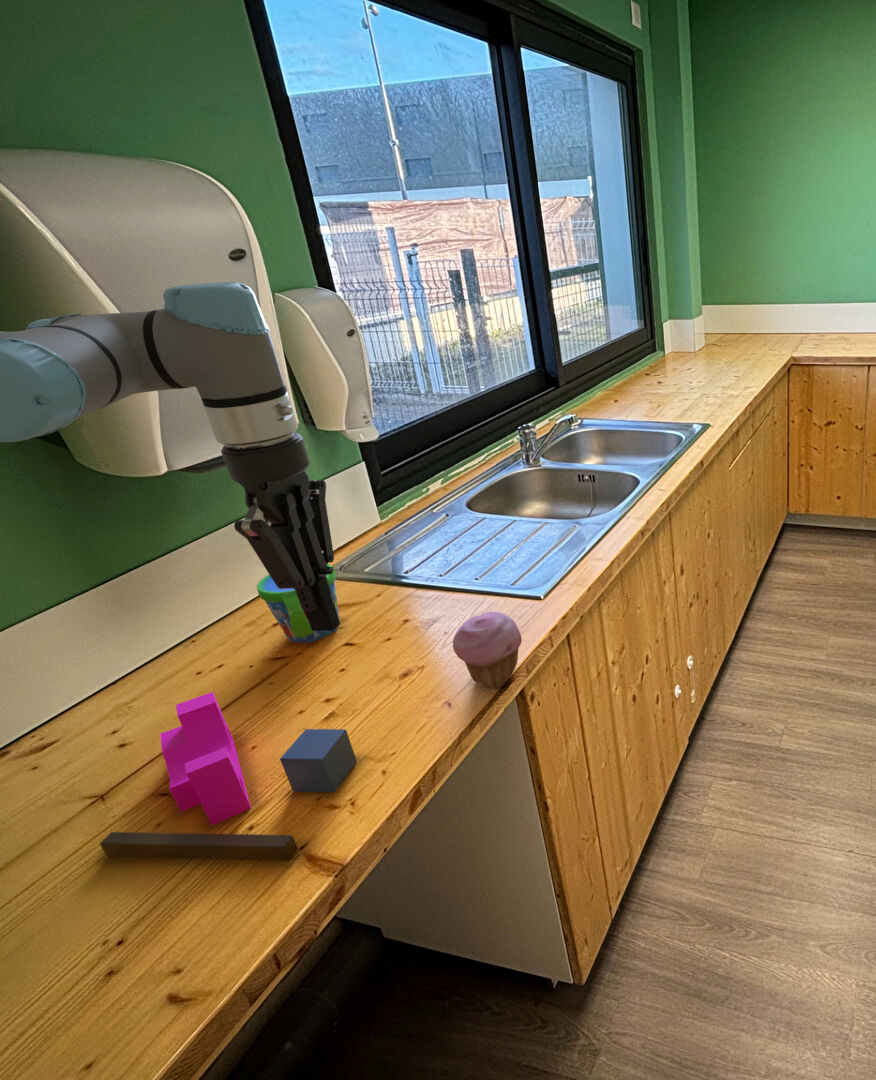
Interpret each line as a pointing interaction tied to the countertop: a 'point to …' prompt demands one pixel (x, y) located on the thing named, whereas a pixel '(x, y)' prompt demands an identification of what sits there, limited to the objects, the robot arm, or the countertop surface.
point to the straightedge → (199, 846)
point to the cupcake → (488, 647)
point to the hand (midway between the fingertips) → (326, 627)
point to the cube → (318, 760)
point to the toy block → (204, 761)
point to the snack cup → (293, 610)
